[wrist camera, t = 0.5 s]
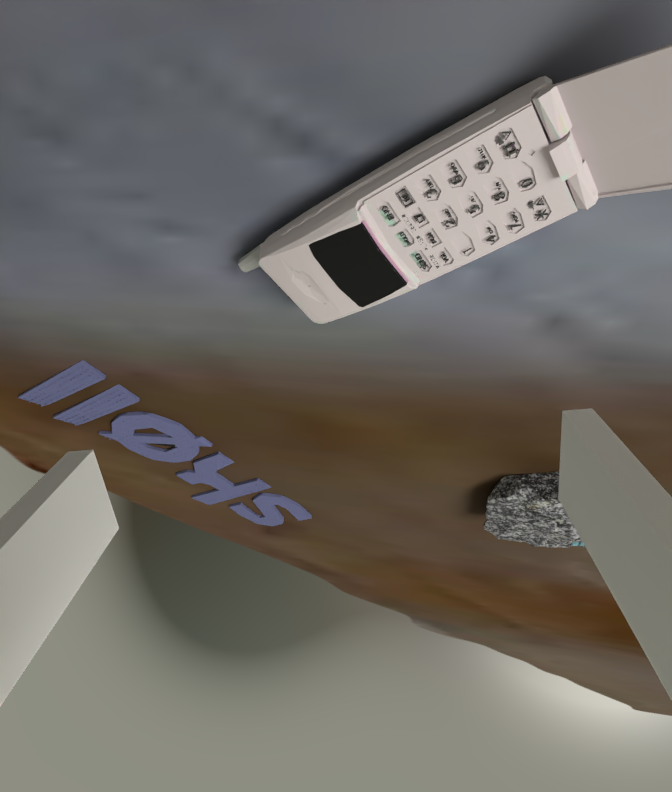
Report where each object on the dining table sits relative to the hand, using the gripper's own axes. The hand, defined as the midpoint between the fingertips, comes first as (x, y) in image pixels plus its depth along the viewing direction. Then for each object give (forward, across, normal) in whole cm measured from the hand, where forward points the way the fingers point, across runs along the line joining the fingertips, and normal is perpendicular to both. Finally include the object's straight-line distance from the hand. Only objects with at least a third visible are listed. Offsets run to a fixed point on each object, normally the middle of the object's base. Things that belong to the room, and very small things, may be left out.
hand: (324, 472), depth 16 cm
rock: (+29, +15, -21) cm, 39 cm away
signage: (+31, -17, -16) cm, 39 cm away
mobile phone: (+15, +6, +7) cm, 18 cm away
